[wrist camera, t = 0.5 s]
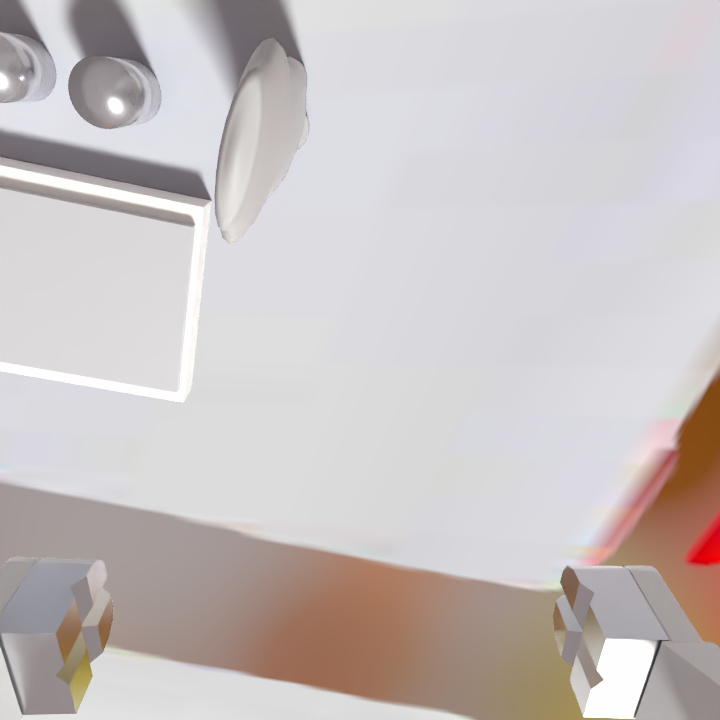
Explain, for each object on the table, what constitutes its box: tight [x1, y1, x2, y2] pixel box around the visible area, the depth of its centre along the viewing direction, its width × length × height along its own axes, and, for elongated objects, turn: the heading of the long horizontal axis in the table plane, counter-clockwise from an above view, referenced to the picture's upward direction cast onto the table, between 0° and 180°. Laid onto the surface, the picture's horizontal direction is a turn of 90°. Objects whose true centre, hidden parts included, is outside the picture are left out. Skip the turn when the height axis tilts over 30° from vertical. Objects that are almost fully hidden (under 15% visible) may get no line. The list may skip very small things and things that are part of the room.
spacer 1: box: [0, 32, 56, 103], centre depth 43 cm, size 5×5×6 cm
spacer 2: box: [68, 56, 161, 129], centre depth 44 cm, size 5×5×6 cm
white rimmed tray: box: [0, 157, 212, 403], centre depth 51 cm, size 18×22×4 cm
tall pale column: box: [215, 38, 309, 244], centre depth 38 cm, size 11×4×22 cm, turn 163°
